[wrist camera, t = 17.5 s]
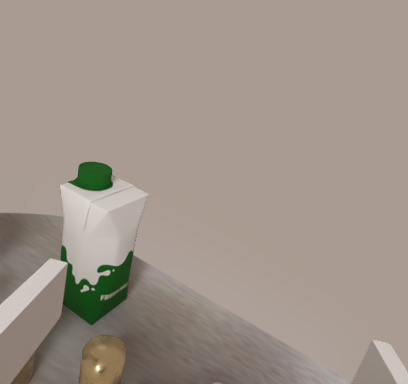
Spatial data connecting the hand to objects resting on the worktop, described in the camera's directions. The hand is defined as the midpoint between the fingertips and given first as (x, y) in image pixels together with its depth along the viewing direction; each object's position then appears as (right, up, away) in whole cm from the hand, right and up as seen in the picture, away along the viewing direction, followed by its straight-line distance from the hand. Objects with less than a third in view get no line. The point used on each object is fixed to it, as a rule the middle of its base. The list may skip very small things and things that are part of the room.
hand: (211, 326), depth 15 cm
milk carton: (-17, -10, +35) cm, 40 cm away
